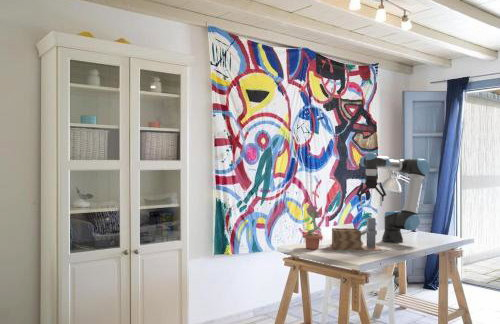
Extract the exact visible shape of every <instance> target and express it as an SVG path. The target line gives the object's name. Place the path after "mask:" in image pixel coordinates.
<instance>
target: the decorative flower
mask: <svg viewBox="0 0 500 324" xmlns="http://www.w3.org/2000/svg"><path fill="white" fill-rule="evenodd" d="M306 214H307V215H308V216H309V217H310V218H311V219H312V220H311V221H310V223H309V225H312V224H313V227H314V228H313V229H307V228H306V229H305V230H306V231H308V232H307V233H302V238H304V240H305V248H306V249H309V250H318V249H319V248H320V239H323V238H324V236H323V234H320V233H314V232H316V231H318V230H319V231H322V229H321V228H320V227H319V226H318V225H317V222H316V219H319V218H320V216H321V215H322V213H321V211H318V207H317V206H316V205H308V206H307V207H306Z"/></svg>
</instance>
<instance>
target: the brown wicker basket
mask: <svg viewBox="0 0 500 324" xmlns="http://www.w3.org/2000/svg"><path fill="white" fill-rule="evenodd" d="M361 231H362V230H359V228H347V227H343V228H341V227H333V228H332V227H331V244H330V248H331V250H332V251H363V249H362V248H361V246H362V245H361V241H362V236H361Z"/></svg>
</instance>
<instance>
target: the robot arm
mask: <svg viewBox="0 0 500 324" xmlns="http://www.w3.org/2000/svg"><path fill="white" fill-rule="evenodd" d="M359 164H360V166H361V167H364V168H365V182H363V181H361V182H360V186H359V188H358V189H357V192H356V194H355V195H356V196H358V201H359V203H360V204H359V205H360V207H363V196H362V195H363V194H364V193H366V191H367V190H368V189H371V190H372V189H373V190H374V189H375V191H377V193H378V194H379V195H380V196H379V206H380V207H383V202H384V200H385V199H384V198H385V197H386V196H387V193H386V191H385V189H384V187H383V183H382V182H380V181H379V182H378V176H377V175H378V169H383V170H384V169H386V170H391V171H394V172H396V173H402V174H407V175H408V176H409V181H408V186H407V190H406V191H407V192H406V196H405V200H404V201H405V202H404V205H403V208H402V209H401V210H393V211H391V210H390V211H385V212H384V217H383V218H384V231H383V235H382V238H381V241H382V242H384V243H390V244H392V243H393V244H394V243H395V244H400V243H404V238H403V236H402V232H401V231H402V230H406V231H415V230H416V229H417V228H419V226H420V224H421V219H420V217H419V216H418V214H419V213H418V212H417V209H418V203H419V198H420V192H421V188H422V182H423V180H424V179H425V178H426V175H428V174H429V173H430V171H431V165H430V163H429V161H428V160H427V159H424V158H406V159H397V158H396V159H390V157H388V156H385V155H379V156H378V155H377V153H375V152H367V153H366V154H365V156H362V157H360V159H359ZM364 185H365V187H364ZM378 186H379V187H378ZM363 187H364V189H362V188H363ZM379 188H380V189H379ZM380 190H381V191H380Z"/></svg>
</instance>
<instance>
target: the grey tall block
mask: <svg viewBox="0 0 500 324" xmlns="http://www.w3.org/2000/svg"><path fill="white" fill-rule="evenodd" d="M376 224H377V223H376V217H366V227H365V230H366V246H367V248H375V246H376V236H377V234H378V231H377V230H376V228H377V226H376Z"/></svg>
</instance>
